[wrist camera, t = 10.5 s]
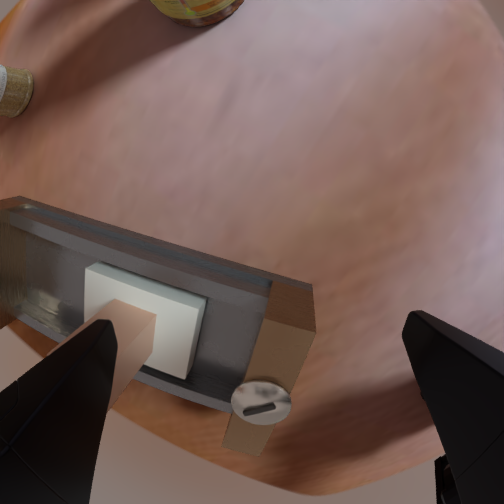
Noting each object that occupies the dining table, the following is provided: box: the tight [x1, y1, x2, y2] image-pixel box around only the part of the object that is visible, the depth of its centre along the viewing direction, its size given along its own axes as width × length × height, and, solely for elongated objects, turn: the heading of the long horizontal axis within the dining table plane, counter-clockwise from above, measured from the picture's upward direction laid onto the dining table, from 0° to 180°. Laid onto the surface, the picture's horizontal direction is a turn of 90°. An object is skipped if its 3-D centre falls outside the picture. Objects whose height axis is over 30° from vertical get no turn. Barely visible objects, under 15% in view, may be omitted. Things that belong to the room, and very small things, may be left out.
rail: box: [0, 196, 316, 457], centre depth 19 cm, size 26×10×7 cm, turn 75°
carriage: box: [47, 261, 207, 412], centre depth 17 cm, size 8×6×9 cm
